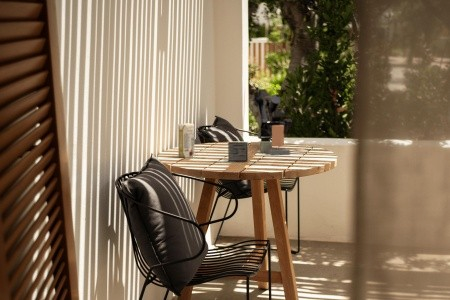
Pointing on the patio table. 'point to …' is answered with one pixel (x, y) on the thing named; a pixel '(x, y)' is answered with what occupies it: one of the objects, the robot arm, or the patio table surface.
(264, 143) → the sage cube
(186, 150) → the juice carton
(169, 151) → the patio table surface
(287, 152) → the slate base block
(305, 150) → the card
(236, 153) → the small box
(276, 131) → the terracotta block
